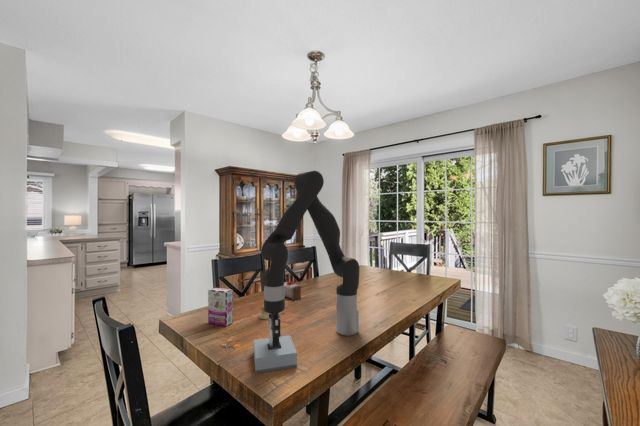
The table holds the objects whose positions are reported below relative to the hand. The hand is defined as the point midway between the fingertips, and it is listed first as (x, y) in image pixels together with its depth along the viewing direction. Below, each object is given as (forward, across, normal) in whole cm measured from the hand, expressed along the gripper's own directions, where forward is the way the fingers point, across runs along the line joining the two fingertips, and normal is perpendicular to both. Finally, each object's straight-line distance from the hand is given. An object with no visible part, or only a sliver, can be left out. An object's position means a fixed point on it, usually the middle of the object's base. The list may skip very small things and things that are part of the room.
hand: (274, 341), depth 101 cm
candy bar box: (+7, +40, +21) cm, 46 cm away
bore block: (+7, 0, 0) cm, 7 cm away
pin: (+6, 0, 0) cm, 6 cm away
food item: (+7, +72, -19) cm, 74 cm away
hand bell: (+7, +43, -1) cm, 44 cm away
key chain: (+7, +17, +16) cm, 24 cm away
